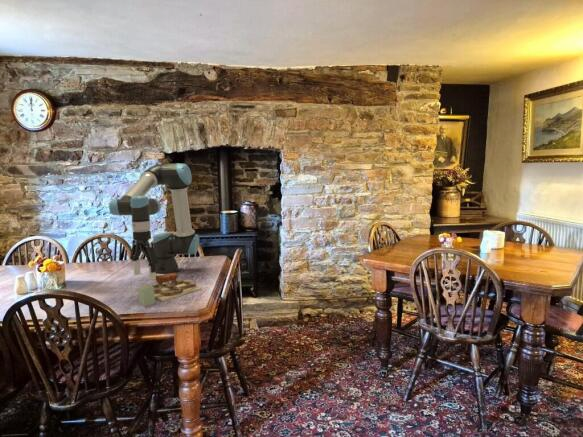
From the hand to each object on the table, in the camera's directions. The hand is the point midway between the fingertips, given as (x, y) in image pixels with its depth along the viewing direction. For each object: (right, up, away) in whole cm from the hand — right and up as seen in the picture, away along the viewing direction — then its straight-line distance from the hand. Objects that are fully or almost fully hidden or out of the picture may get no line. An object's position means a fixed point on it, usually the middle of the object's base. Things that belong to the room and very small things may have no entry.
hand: (144, 277), depth 178 cm
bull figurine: (+4, -8, +16) cm, 19 cm away
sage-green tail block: (0, -13, +2) cm, 13 cm away
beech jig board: (+6, -10, +19) cm, 23 cm away
